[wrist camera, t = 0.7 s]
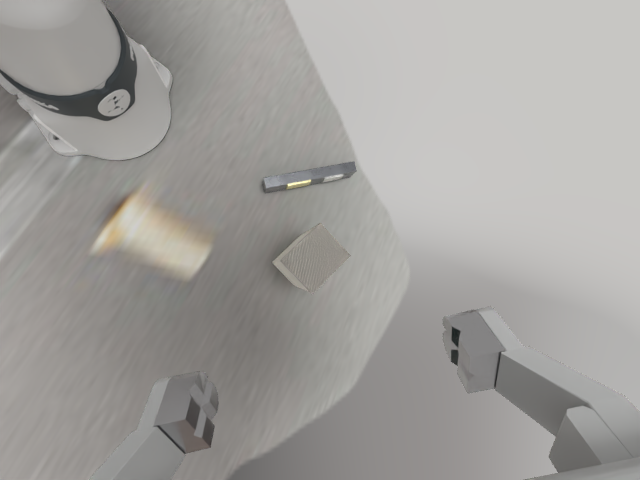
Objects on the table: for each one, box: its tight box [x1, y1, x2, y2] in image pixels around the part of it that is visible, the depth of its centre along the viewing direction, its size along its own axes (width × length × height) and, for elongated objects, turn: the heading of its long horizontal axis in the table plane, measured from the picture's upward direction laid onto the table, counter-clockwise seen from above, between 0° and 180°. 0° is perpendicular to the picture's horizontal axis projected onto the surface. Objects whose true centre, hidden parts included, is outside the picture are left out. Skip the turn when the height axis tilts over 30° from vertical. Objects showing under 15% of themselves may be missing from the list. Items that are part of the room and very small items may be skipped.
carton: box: [272, 223, 351, 294], centre depth 42 cm, size 5×6×14 cm
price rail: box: [263, 162, 356, 193], centre depth 48 cm, size 2×14×4 cm, turn 104°
